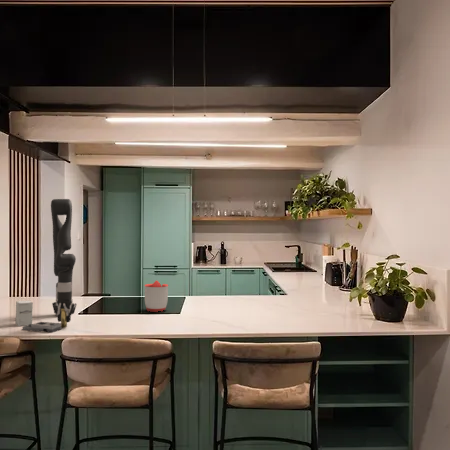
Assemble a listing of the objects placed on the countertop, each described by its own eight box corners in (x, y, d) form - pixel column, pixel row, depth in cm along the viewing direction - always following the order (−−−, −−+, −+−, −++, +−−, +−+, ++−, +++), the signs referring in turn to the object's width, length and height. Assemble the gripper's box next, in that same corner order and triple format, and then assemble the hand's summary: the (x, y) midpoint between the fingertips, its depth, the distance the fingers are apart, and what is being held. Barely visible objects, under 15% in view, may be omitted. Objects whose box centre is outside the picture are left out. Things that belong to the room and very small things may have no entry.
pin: (63, 325, 230) (63, 307, 230) (68, 326, 230) (69, 308, 230) (58, 327, 227) (59, 308, 227) (64, 327, 226) (65, 309, 226)
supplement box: (17, 326, 227) (18, 303, 227) (15, 323, 233) (15, 301, 233) (32, 324, 231) (33, 302, 231) (29, 322, 237) (30, 300, 237)
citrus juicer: (170, 308, 285) (171, 279, 285) (164, 313, 268) (165, 282, 268) (148, 307, 287) (149, 278, 287) (140, 312, 269) (141, 281, 270)
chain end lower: (31, 326, 227) (32, 322, 227) (52, 328, 224) (52, 324, 224) (22, 329, 220) (22, 325, 220) (43, 331, 217) (43, 327, 217)
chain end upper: (40, 327, 226) (40, 320, 226) (60, 329, 222) (61, 322, 222) (31, 330, 219) (31, 323, 219) (52, 332, 215) (52, 325, 216)
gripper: (80, 290, 230) (79, 321, 230) (57, 288, 234) (57, 319, 234) (72, 292, 223) (71, 324, 223) (48, 290, 226) (48, 322, 226)
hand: (64, 321), depth 228 cm, fingers open, 4 cm apart
